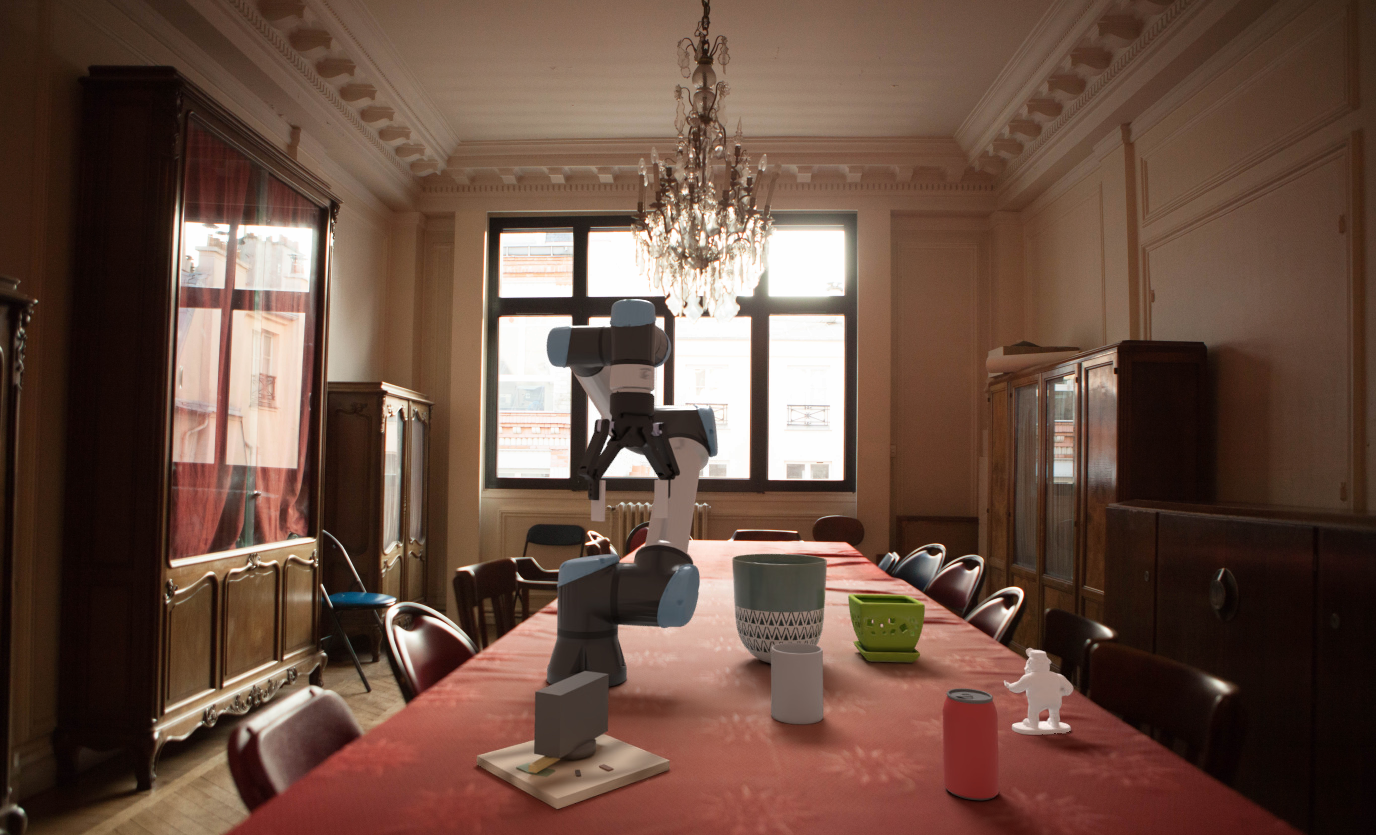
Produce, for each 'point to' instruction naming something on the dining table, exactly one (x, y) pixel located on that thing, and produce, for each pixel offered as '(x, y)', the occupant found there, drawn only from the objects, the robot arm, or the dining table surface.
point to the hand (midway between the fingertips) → (630, 519)
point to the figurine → (1041, 695)
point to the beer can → (970, 744)
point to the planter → (778, 600)
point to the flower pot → (887, 626)
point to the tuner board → (574, 770)
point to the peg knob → (570, 718)
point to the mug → (797, 683)
